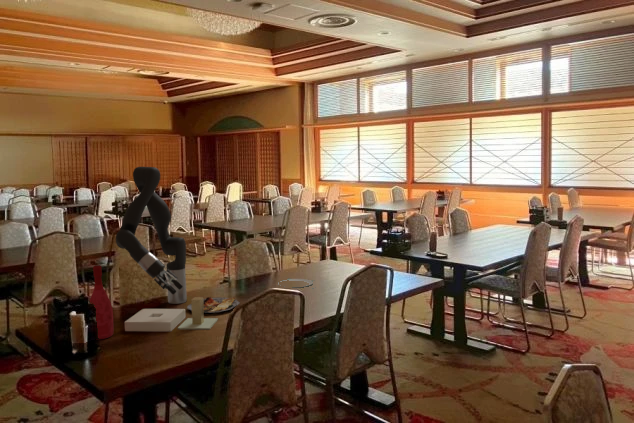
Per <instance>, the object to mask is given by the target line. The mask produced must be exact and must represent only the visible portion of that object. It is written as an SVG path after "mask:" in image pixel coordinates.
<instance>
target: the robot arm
mask: <svg viewBox="0 0 634 423" xmlns="http://www.w3.org/2000/svg"><path fill="white" fill-rule="evenodd" d="M132 179H133V182H134V184H135V186H136V188H137V190H138V192H139V195H137V196H136V197H135V198H134V199H133V200H132V202H130V203H129V205H128V206H127V208H126V211H125V213H124V215H123V219H122V222H121V226H120V229H119V230H118V231H117V233H116V235H115V244H116V246H117V247H118V248H120V249H123V250H126V251H127V252H128V254H129V256H130V257H131V258H132V260H134V261H135V263H137V264H138V265H139V267H141V269H142V270H143V271H144V272H145V273H146V274H147V275H149V277H150V278H151V279H154V280H153V281H154V282H155V283H156V284H158V286H159V287H160V288H162V289H163V290H166V291H167V300H168V301H167V302H168V304H174V305H176V304H177V305H178V304H183V303H186V302H187V301H188V300H187V298H188V296H187V278H186V275H187V274H186V262H187V242H186V240H185V238H184V237H178V236H171V235H170V233H169V231H168V230H169V225H170V223H171V220H172V214H171V211H170V209H169V206H168V203H166V202H165V200H164V199H163V198H161V196H159V195H158V193H156V191H155V190H156V189H157V187H158V185H159V184H160V181H161V172H160V170H159V168H157V167H155V166H154V167H153V166H137V167H135V168H134V169H133V172H132ZM145 209H147V211H148V214H149V216H150V219H151V220H152V223H153V225H154V228H155V231H156V232H157V233H156V234H157V235H158V237H157V238H158V240H159V244H160V247H161V251H162V252H163V254H165V256H175V257H174V259H173V260H172V261H170V262H168V263H166V265H165V264H163V262H162V260H160V259H159V258H158V257H157V256H156V255H155V254H153V253H152V252H150V250H148V249H147V248H146V247H145V246H144V245H143V244H142V243H141V242H140V240H139V239H138V238H137V237H136V231H137V228H138V226H139V224H140V222H141V218H142V216H143V214H144V212H145ZM165 268H166V270H165Z"/></svg>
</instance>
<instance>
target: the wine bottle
mask: <svg viewBox="0 0 634 423" xmlns="http://www.w3.org/2000/svg"><path fill="white" fill-rule="evenodd" d="M92 269H93V277H94V287H93V291H92V293H91V296H90V298H89V301H90V303H91V302H92V303H93V304H94V305H95V306H94V307H95V308H96V321H97V328H98V338H99V339H98V340H104V339H107V338H111V337H112V336H113V335H114V333H115V332H114V310H113V306H112V305H113V304H112V303H111V299H110V298H109V296H108V294H107V292H106V291H105V289H104V285H103V280H102V276H103V270H102V269H103V268H102V265H99V264H96V265H94V266H92ZM92 303H91V304H92Z"/></svg>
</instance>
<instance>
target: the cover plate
mask: <svg viewBox="0 0 634 423" xmlns="http://www.w3.org/2000/svg"><path fill="white" fill-rule="evenodd" d="M186 319H187V318H186V308H142V309H141V310H139V311H138V312H136V313H135V314H134V315H132V316H130V317H129V318H128V319H126V320H125V321H124V331H125V332H173V330H174V329H175V328H176V327H177V326H178V325H180V324H181V323H182V322H183V321H185V320H186Z"/></svg>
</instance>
